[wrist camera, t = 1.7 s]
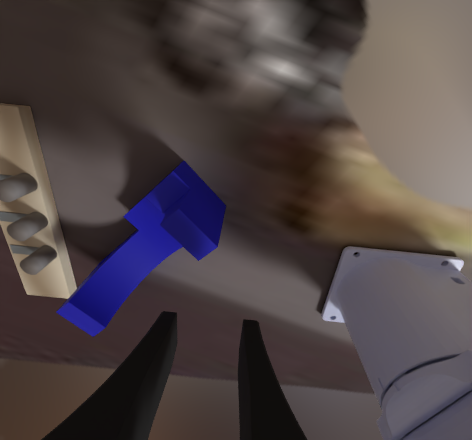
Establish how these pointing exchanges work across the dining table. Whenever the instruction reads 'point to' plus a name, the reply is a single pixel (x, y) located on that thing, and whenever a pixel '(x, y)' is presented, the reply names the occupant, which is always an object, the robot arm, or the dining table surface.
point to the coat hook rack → (31, 208)
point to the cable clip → (149, 245)
